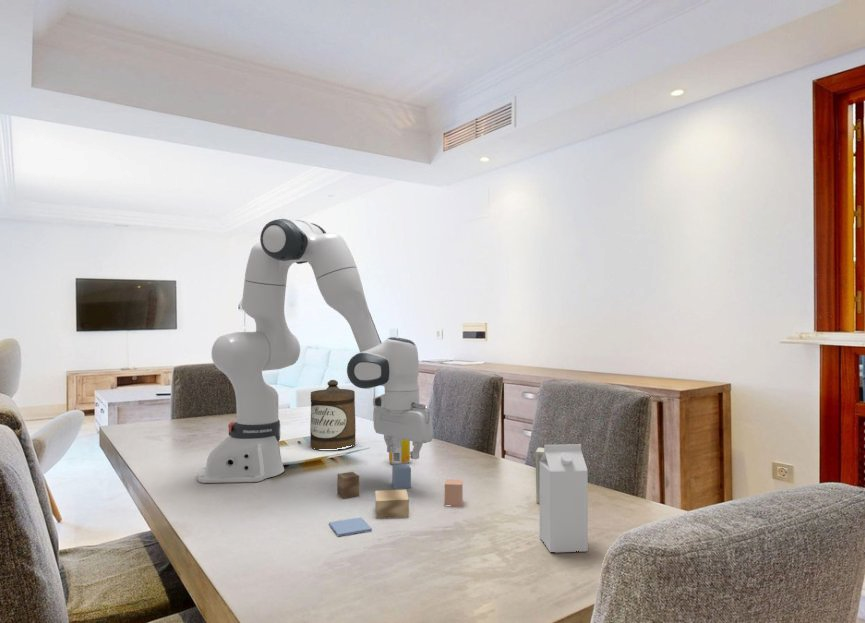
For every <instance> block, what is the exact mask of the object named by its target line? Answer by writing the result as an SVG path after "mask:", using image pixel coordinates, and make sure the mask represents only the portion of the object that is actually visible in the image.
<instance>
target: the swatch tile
mask: <svg viewBox="0 0 865 623" xmlns="http://www.w3.org/2000/svg"><path fill="white" fill-rule="evenodd" d="M329 525H330V526H329ZM328 526H329V527H330V528H331V529H333V530H334V531H335V532H334V531H333V530H332V531H333V532H334V534H335V533H336V534H337V535H338V536H340V537H343V536H342V535H346V536H349V535H348V534H352V535H355V534H354V533H358V534H361V533H360V532H363V533H366V532H365V531H369V532H371V531H370V530H372V531H373V528H372V527H371V526H370V525H369V524H368V523H367V522H366V521H365V519H364V518H362V517H354V518H347V519H342V520H336V521H330V522H329V521H328ZM336 534H335V535H336ZM337 535H336V536H337ZM338 536H337V537H338Z"/></svg>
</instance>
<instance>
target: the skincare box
mask: <svg viewBox="0 0 865 623" xmlns="http://www.w3.org/2000/svg"><path fill="white" fill-rule="evenodd" d="M543 453H544V447H537V448H536V450H535V454H534V455H535V458H534V459H535V490H536V492H535V495H536V496H535V497H536V500H535V501H536V504H540V462H539V461H540V459H541V457H542V455H543Z"/></svg>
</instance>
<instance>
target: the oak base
mask: <svg viewBox="0 0 865 623" xmlns="http://www.w3.org/2000/svg"><path fill="white" fill-rule="evenodd" d="M374 492H375V501H374V502H375V504H374V505H375V518H376V519H389V518H388V517H399V518H406V517H405V516H409V517H410V511H409V510H410V508H409V507H410V502H409V501H410V499H409V495H408V492H407V489H387V490H375V491H374Z"/></svg>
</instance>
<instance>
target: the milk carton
mask: <svg viewBox="0 0 865 623" xmlns="http://www.w3.org/2000/svg"><path fill="white" fill-rule="evenodd" d="M543 448H544V453H543V455H542V457H541V459H540V461H539V462H540V503H539V538H540V540H541V541H542V543H543V542H544V543H543V545H544V546H545V545H546V546H545V547H546V549H547V550H548V551H549V553H551V552H555V553H573V552H574V553H576V551H577V553H578V551H579V552H582V553H583V552H588V548H589V547H588V546H589V545H588V544H589V542H588V540H589V539H588V538H589V535H588V533H589V530H588V529H589V528H588V527H589V524H588V521H589V518H588V516H589V515H588V514H589V511H588V510H589V509H588V507H589V506H588V505H589V502H588V501H589V499H588V498H589V496H588V493H589V492H588V488H589V487H588V485H589V484H588V483H589V482H588V479H589V478H588V473H589V472H588V467H587V464H586V461H585V458H584V454H583V452H582V444H581V443H580V444H577V443H575V444H574V443H573V444H571V443H570V444H568V443H567V444H544V447H543Z"/></svg>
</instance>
